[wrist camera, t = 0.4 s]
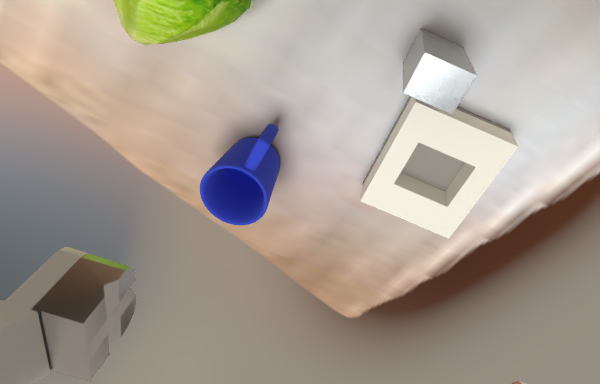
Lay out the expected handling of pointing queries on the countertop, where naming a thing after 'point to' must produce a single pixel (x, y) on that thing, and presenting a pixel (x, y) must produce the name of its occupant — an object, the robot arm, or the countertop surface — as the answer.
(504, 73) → the countertop surface
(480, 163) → the well block
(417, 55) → the grey brushed prism
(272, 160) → the mug
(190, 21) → the lettuce
